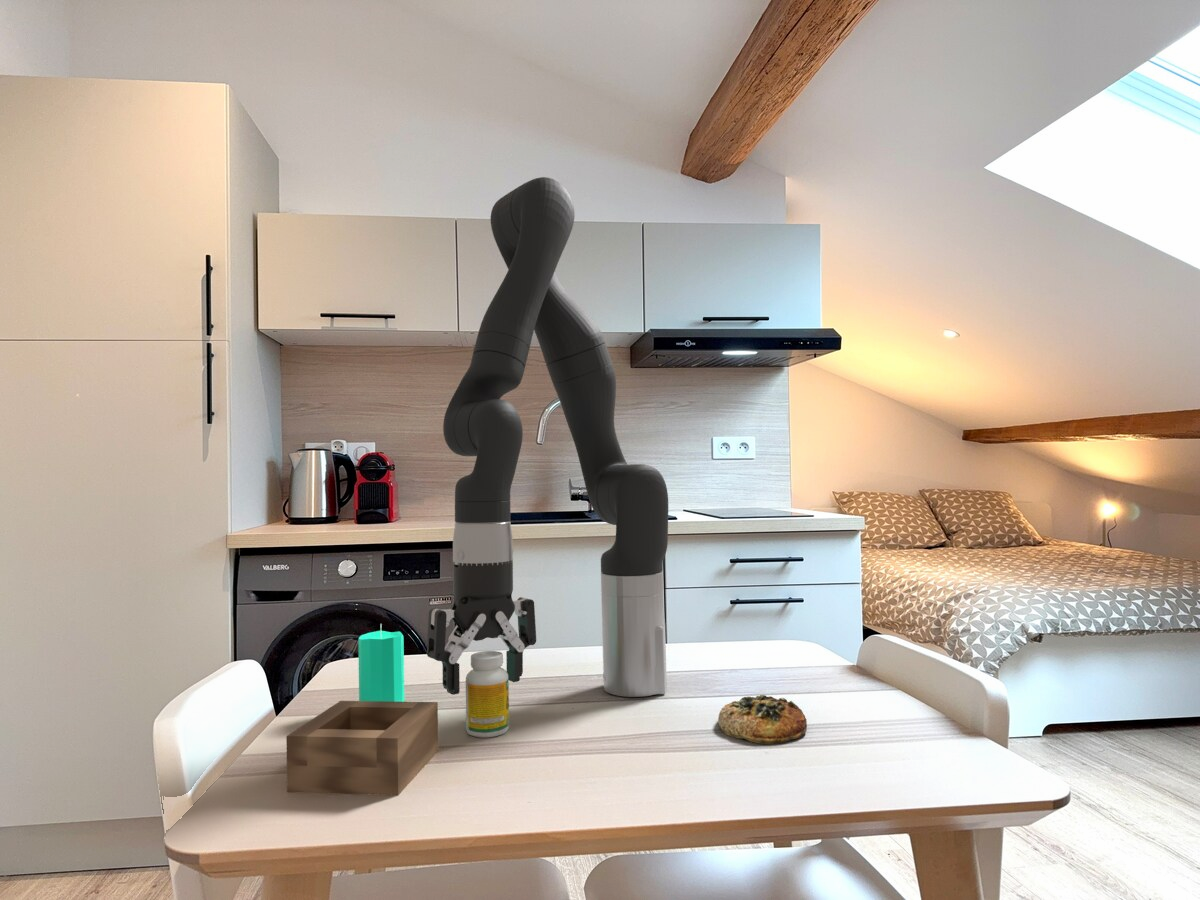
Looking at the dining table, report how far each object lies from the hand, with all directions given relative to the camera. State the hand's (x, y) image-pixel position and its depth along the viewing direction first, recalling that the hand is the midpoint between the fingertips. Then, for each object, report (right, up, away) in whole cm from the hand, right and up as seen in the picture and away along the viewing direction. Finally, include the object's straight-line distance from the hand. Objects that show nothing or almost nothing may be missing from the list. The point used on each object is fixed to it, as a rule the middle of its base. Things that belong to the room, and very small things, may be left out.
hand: (483, 686), depth 94 cm
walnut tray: (-11, -6, -12) cm, 17 cm away
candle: (-15, -6, +9) cm, 19 cm away
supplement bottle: (+1, -6, 0) cm, 6 cm away
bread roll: (+35, -5, -2) cm, 35 cm away
